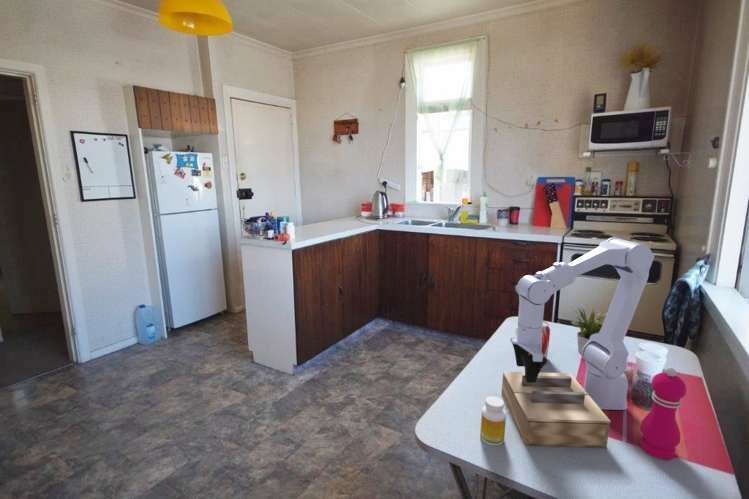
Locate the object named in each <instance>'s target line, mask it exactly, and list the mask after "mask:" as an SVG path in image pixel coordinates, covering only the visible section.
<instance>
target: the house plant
mask: <svg viewBox="0 0 749 499" xmlns="http://www.w3.org/2000/svg"><path fill="white" fill-rule="evenodd" d="M568 308H569V309H572V310H573V311H574V312H575V313H576V315H577V316H578V317H577V316H576V318H577V319H578V321H579V322H580V323H579V322H578V321H575V320H573V321H571V322H570V323H571V325H573V326H576V327H577V328H579V330H580V331H577V333H576V335H577V336H576V337H577V350H578V353H579V354H581V355H582V349H583V347H584V345H585V344H586V343H587V342H588V341H589V339H590V336H591V335H594V334H597V333H600V330H601V328H602V324H601V323H602V321H603V319H604V320H605V317H606V315H607V312H605V313H603V314H601V312H599V313H597V314H596V312H595V309H596V307H593V308H592V310H591V314H590V316H589V318H587V316H586V312H585V310H584V309H583V308H577V310H578V312H579V313H580V314H578V312H577V311H576V310H575V309H574V308H571V307H569V306H568ZM600 314H601V315H600ZM598 315H600V317H597V316H598ZM595 317H597V319H596V320H595Z"/></svg>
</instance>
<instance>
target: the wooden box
mask: <svg viewBox="0 0 749 499" xmlns="http://www.w3.org/2000/svg"><path fill="white" fill-rule="evenodd" d="M501 396H502V398H503V402H505V403H504V404H505V405H506V407H507V409H508V411H509V413H510V415H511V418H512V420H513V422H514V424H515V427H516V428H517V430H518V433H519V434H520V437H521V439H522V441H523V444H524V445H525V446H539V447H541V446H542V447H562V448H563V447H565V448H566V447H567V448H569V447H570V448H595V449H596V448H599V449H601V448H602V449H607V446H608V440H609V433H610V426H611V423H578V422H546V421H527V419H526V417H525V415H524V413H523V411H522V409H521V407H520V405H519V403H518V401H517V399H516V397H515V394H513V392H512V390H511V388H510V386H509V384H508V382H507V380H506V378H505V376H504V374H502V383H501Z"/></svg>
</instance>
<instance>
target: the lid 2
mask: <svg viewBox="0 0 749 499" xmlns="http://www.w3.org/2000/svg"><path fill="white" fill-rule="evenodd" d="M515 397H516V399H517V401H518V403H519V405H520V407H521V409H522V411H523V413H524V415H525V417H526V419H527V421H546V422H578V423H609V424H611V420H610V419H609V418H608V416H607V415H606V413H605V412H603V409H600V408H599V407H598V406H597V404H596V403H595V402H594V401H593V400H592V398H591V397H590V396H589V395H585V394H584V393H583V392H551V391H532V393H531V394H526V393H515Z"/></svg>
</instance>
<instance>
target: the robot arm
mask: <svg viewBox="0 0 749 499" xmlns="http://www.w3.org/2000/svg"><path fill="white" fill-rule="evenodd" d="M654 260H655V255H654V254H653V251H652V250H651V248H650V247H649V246H648V245H647V244H643V243H637V242H633V241H629V240H626V239H622V238H619V237H615V236H614V237H609V238H608V239H606V240H603V241H601V242H599V244H598V246H597V247H596V248H594V249H591V250H590V251H589V252H587V253H585V254H583V255H582V256H580V257H578V258H576V259H574V260H573V261H571V262H569V263H567V262H564V261H563V262H562V261H560V262H558V261H556V262H554V263H552V266H550V267H549V268H546V269H544V270H541V271H537V272H535V274H534V275H532V274H528V275H524V276H523V277H521V278H519V281H518V282H517V285H515V291H516V293H517V295H518V296H519V297H518V301H519V304H518V315H517V326H516V328H515V337H511V338H510V342H511V344H512V347H513V351H514V356H515V357H514V358H515V362H516V363H515V364H516V366H517V367H524V372H525V379H526V382H528V383H535V382H536V380H537V377H538V375H539V372H540V373H541V370H542V369H543V368H544V367H545V365H546V364H547V363H548V359H547V358H545V357H543V354H542V342H541V336H542V325H543V321H544V314H545V312H544V311H545V303H547V302H548V301H549V300H550V298H551V297H552V295H554V294H555V292H557V291H560V290H562V289H564V288H566V287H568V286H571V285H573V284H574V283H575V281H576V278H577V276H580V275H582V274H585V273H587V272H589V271H592V270H595V269H597V268H599V267H602V266H604V265H610V266H613V268H615V270H616V271H617V274H618V275H619V277H620V278H619V281H618V284H617V286H616V289H615V291H614V294H613V297H612V299H611V302H610V305H609V307H608V310H607V312H606V313H607V315H606V317H605V318H604V320H603V321H602V324H601V326H602V328H601V330H600V333H597V334H594V335H591V336H590V339H589V341H588V342H587V343H586V344H585V345H584V347H583V349H582V354H581V357H582V359H583V360H584V361H585V363H584V365H585V366H586V369H585V375H584V383H583V389H584V390H585V391H586V392H587V394H588V395H589V396H590V397H591V398H592V400H593V401H594V402H595V403H596V404H597V406H598V407H599V408H600V409H601V410H614V411H627V407H626V402H627V395H628V390H629V382H628V378H627V376H626V374H625V372H626V370H627V367H628V358H629V351H628V348H627V346H626V345H625V343H624V340H625V337H626V335H627V332H628V329H629V327H630V325H631V322H632V319H633V317H634V315H635V311H636V310H637V307H638V304H639V302H640V300H641V297H642V294H643V293H644V289H645V287H646V284H647V282H648V279H649V276H650V269H651V267H652V264H653V261H654ZM529 353H530V355H529Z"/></svg>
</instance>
